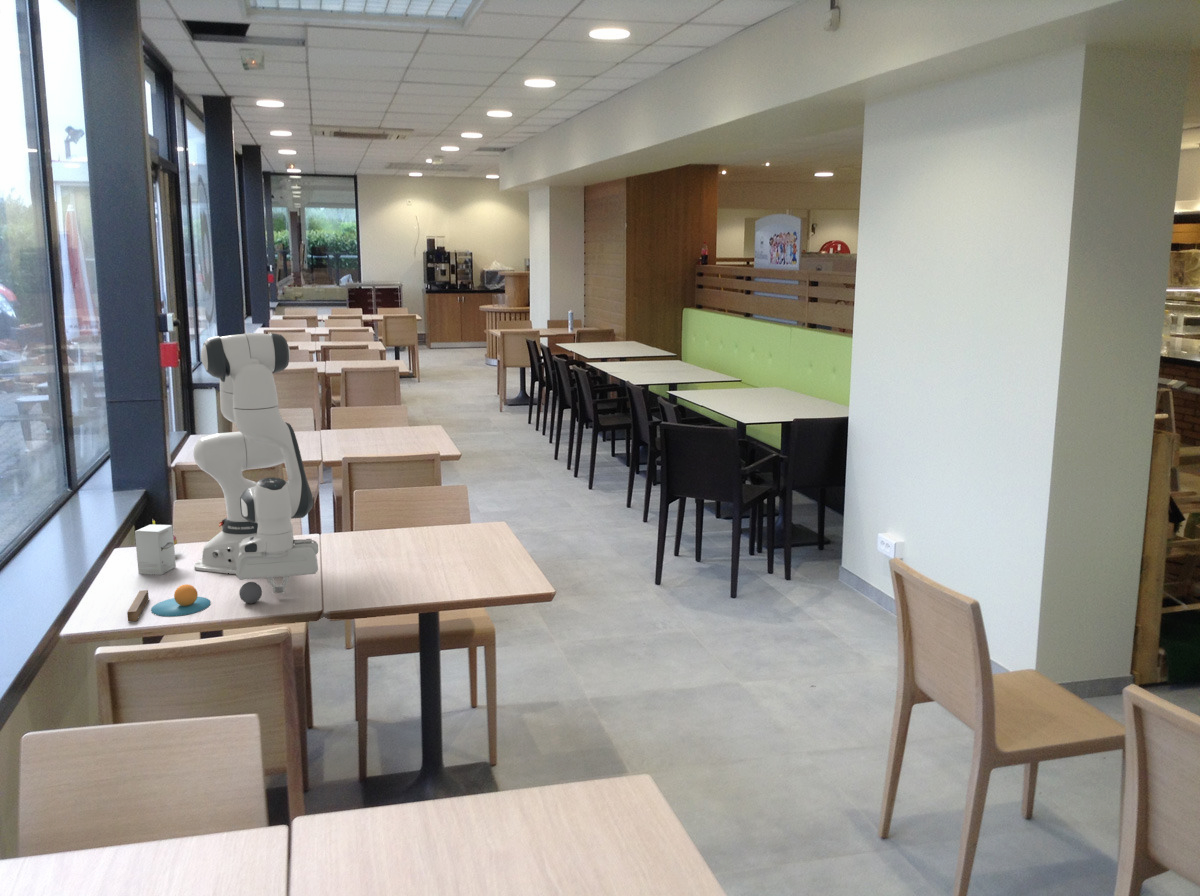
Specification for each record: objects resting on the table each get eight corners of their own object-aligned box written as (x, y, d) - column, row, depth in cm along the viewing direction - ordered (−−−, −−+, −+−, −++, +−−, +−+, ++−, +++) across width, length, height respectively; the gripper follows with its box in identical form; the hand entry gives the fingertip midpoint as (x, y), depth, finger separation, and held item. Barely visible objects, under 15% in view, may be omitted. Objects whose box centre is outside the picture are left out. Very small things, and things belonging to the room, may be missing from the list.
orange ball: (186, 580, 251) (203, 595, 252) (185, 579, 256) (201, 593, 257) (169, 597, 249) (186, 611, 250) (168, 595, 254) (185, 609, 255)
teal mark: (139, 615, 247) (139, 614, 247) (169, 596, 260) (169, 595, 260) (193, 617, 245) (193, 616, 245) (220, 598, 259) (220, 597, 259)
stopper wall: (128, 621, 242) (127, 612, 242) (140, 599, 258) (139, 590, 257) (137, 620, 243) (136, 611, 242) (148, 599, 258) (147, 590, 258)
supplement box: (162, 575, 277) (157, 531, 275) (137, 574, 278) (133, 530, 276) (177, 567, 284) (173, 524, 282) (153, 566, 285) (149, 523, 283)
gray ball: (265, 585, 254) (266, 602, 256) (254, 574, 257) (255, 591, 260) (245, 593, 250) (246, 610, 253) (234, 582, 253) (236, 599, 256)
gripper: (317, 534, 261) (320, 584, 264) (235, 540, 256) (239, 591, 259) (317, 541, 255) (320, 592, 258) (233, 547, 250) (237, 599, 253)
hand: (279, 592), depth 258 cm, fingers closed
